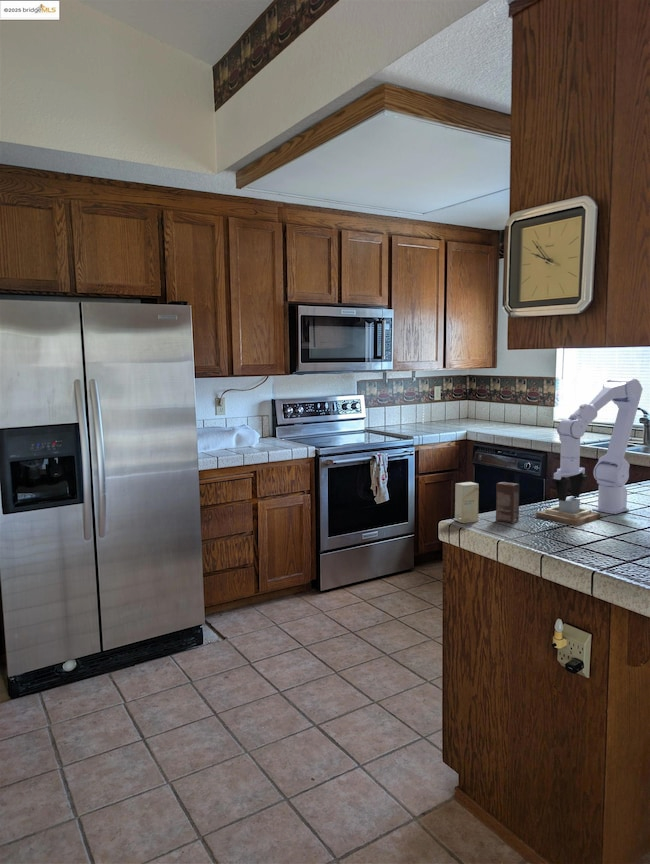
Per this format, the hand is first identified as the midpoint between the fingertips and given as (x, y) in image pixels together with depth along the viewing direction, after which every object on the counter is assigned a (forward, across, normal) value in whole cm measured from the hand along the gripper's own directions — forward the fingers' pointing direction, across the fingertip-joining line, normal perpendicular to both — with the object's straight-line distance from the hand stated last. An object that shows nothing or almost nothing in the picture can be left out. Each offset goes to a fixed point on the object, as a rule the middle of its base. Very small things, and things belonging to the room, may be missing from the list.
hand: (568, 498), depth 196 cm
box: (+6, +18, -10) cm, 22 cm away
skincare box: (+6, +28, -18) cm, 34 cm away
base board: (+6, 0, 0) cm, 6 cm away
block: (+5, 0, 0) cm, 5 cm away
